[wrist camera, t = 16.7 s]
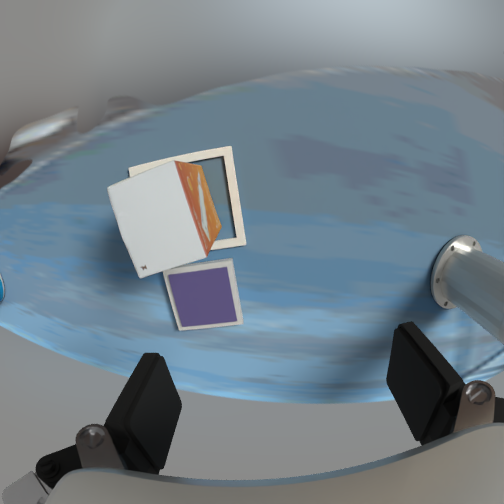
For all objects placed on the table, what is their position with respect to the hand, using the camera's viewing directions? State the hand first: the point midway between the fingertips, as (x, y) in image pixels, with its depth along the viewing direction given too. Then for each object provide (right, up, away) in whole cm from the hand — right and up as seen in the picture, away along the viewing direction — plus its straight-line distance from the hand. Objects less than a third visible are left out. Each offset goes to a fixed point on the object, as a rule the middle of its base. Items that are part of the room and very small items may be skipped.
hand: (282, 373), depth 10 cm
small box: (-9, +11, +23) cm, 27 cm away
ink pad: (-7, -1, +26) cm, 27 cm away
